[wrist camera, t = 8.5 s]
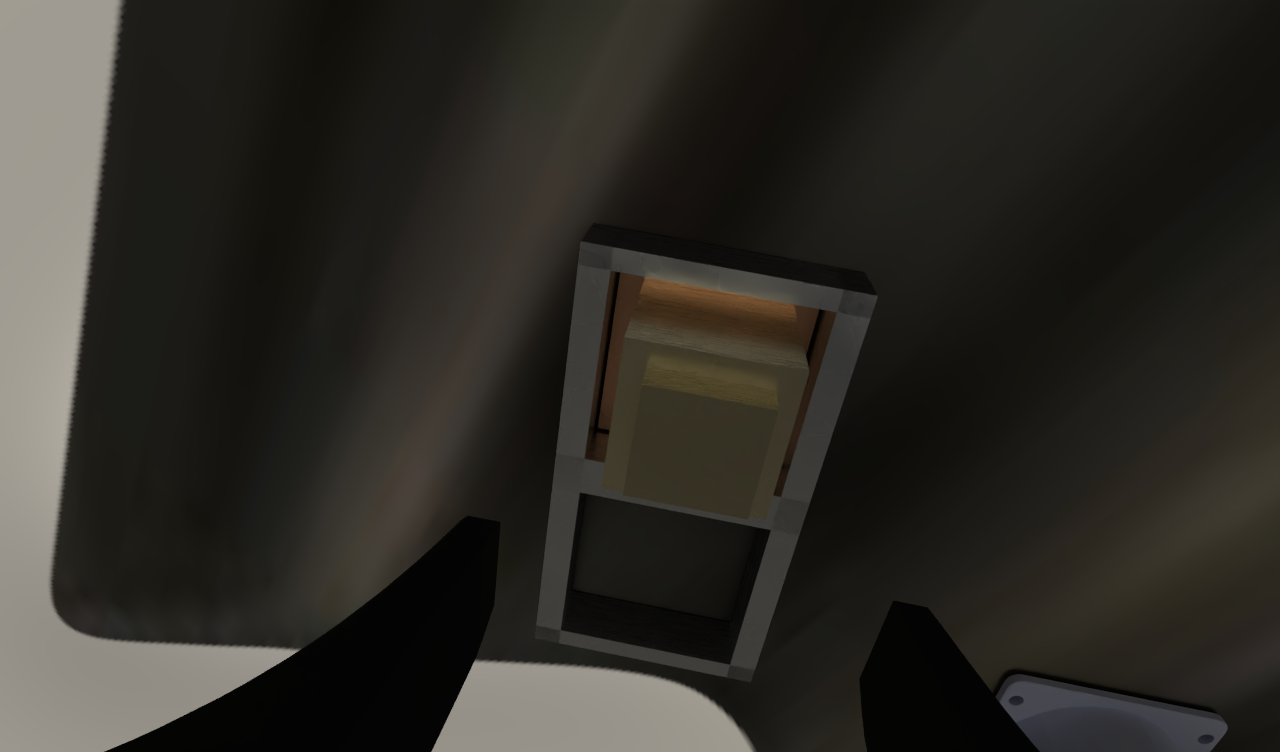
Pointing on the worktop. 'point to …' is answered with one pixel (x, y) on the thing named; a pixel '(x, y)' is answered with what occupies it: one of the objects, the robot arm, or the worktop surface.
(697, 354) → the block
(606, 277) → the grey flat frame
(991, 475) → the worktop surface
